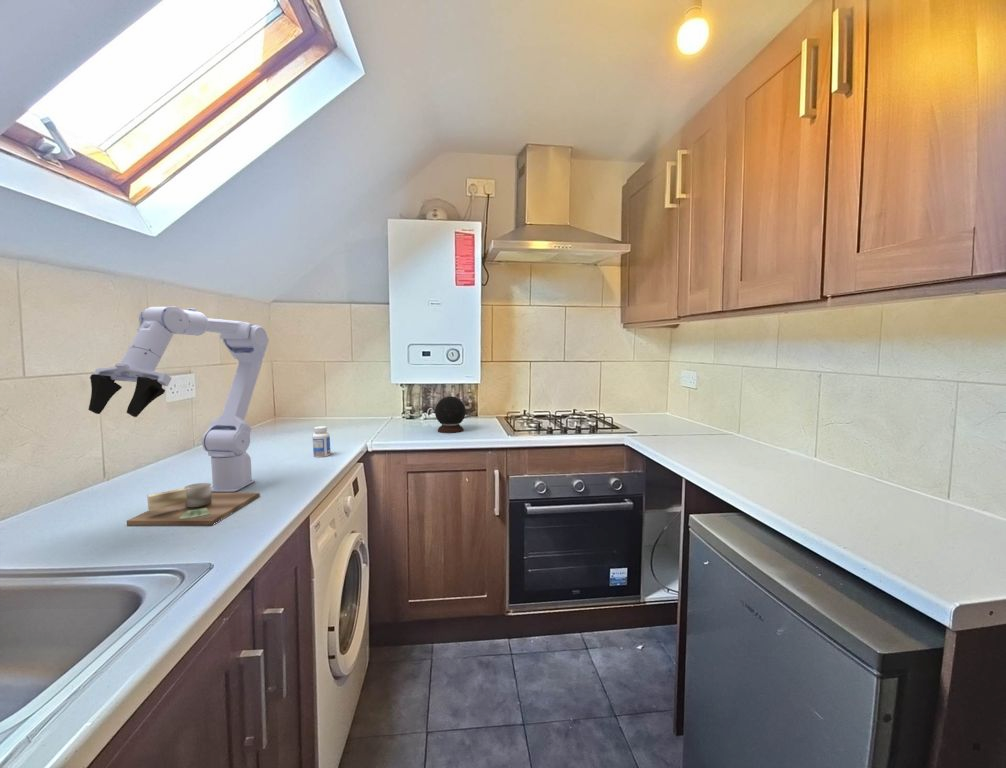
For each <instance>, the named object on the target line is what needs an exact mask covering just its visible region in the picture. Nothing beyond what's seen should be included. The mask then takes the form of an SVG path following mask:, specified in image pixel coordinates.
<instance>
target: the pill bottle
mask: <svg viewBox="0 0 1006 768" xmlns="http://www.w3.org/2000/svg"><path fill="white" fill-rule="evenodd" d="M313 431H314V433H313V434H312V448H313V449H312V450H313V451H312V452H313V457H315V458H324V457H328V456H330V455H331V438H330V437H331V436H330V433H329V432H327V431H328V426H325V425H319V426H315V427H313Z"/></svg>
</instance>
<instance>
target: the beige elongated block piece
mask: <svg viewBox="0 0 1006 768" xmlns="http://www.w3.org/2000/svg"><path fill="white" fill-rule="evenodd" d="M211 487H212V485H211V483H209V482H200V483H199V482H198V483H192V484H188V485H186V486H184V487H182V488H178V489H172V490H168V491H167V490H166V491H163V492H157V493H153V494H149V495H147V496H146V497H147V508H148V509H147V510H148V511H149V510H150V511H152V510H156V509H161V508H165V507H170V506H174V505H179V504H183V503H185V506H186V507H199V506H203V505H207V504H209V503H211V502H212V499H211V493H212V492H211Z"/></svg>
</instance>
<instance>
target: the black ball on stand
mask: <svg viewBox="0 0 1006 768" xmlns="http://www.w3.org/2000/svg"><path fill="white" fill-rule="evenodd" d="M466 410H467V409H466V407H465V404H464V402H463V401H462V400H461V399H460V398H457V396H456V397H455V396H445V397H443V398H441V399H440V400H439V401H438V402H437V404H436V405H435V410H434V415H435V418H436V420H437V421H438V423H439V424H441V425H440V426H438V428H437V433H441V434H457V433H458V434H459V433H462V432H464V430H465V429H464V428H463V426H462V425H460V424H461V423H462V422H463V421H464V419H465V417H466Z"/></svg>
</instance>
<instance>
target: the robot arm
mask: <svg viewBox="0 0 1006 768" xmlns="http://www.w3.org/2000/svg"><path fill="white" fill-rule="evenodd" d="M138 322H139V323H138V324H139V325H138V327H137V329H136V330H137V333H136V335H135V336H134V338H133V339H132V342H130V345H129V346H128V349H127V350H126V352H125V354H124V356H123V358H122V359H121V361H120V362H116V363H115V365H114V366H108V367H97V368H96V369H95V370H94V372H93V373H91V375H90V376H89V379H90V386H91V395H90V401H89V404H88V405H89V406H88V409H87V410H88V411H90V412H91V413H93V414H96V415H99V414H101V413H102V412H103V411H104V409H105V408H106V407H107V404H108V403H109V401H110V400H111V399H112V397H113V396H114V395H116V393H118V392H119V390H121V389H122V387H123V386H121V385H120V384H118V383H117V381H119V382H120V381H121V382H130V383H135V384H136V385H135V389H134V391H133V392H134V393H133V395H132V397H131V400H130V402H129V404H128V406H127V408H126V412H125V413H126V414H127V415H128V414H129V415H130V416H131V417H133V418H137V417H138V416H140V414H141V413H142V412H143V411H144V410H145V409H146V408H147V407H148V406H149V404H151V403H152V402H153V401H155V400H156V399H157V398H159V397H160V396H162V395H164V394H165V392H166V389H165V388H163V386H165V387H168V386H169V384H170V382H171V380H172V377H171V376H170V375H169V374H167V373H166V372H159V371H156V369H157V367H158V366H159V363H160V362H161V359H162V357H163V355H164V353H165V351H166V350H167V348H168V346H169V344H170V342H171V340H172V338H173V337H174V335H183V336H184V335H185V336H201V335H204V334H205V333H206V332H209V333H216V334H219V339H220V340H222V342H223V344H224V346H225V347H226V349H227V350H228V351H229V353H230V354H231V356H232V357H233V358H234V359H236V360H237V362H238V365H237V369H236V371H235V375H234V377H233V380H232V383H231V386H230V389H229V393H228V395H227V399H226V401H225V404H224V407H223V410H222V413H221V416H219V417H218V418H216V419H214V420H213V421H212V422H210V424H209V427H208V429H207V430H206V431H205V432H204V433H203V436H202V439H201V440H202V441H201V444H202V447H203V449H204V451H205V452H207V454H208V456H209V457H210V461H211V477H212V478H211V479H212V485H211V493H236V492H238V491H239V490H241V489H243V488H245V487H247V486H249V485H251V484H253V483H254V482H256V479H254V478H253V477H252V475H253V474H252V460H251V456H250V454H249V453H248V452H247V451H248V449H249V446H250V444H251V432H252V427H251V426H250V425H249V423H248V422H247V421H245V419H246V415H247V412H248V409H249V407H250V404H251V400H252V397H253V393H254V391H255V387H256V384H257V380H258V378H259V374H260V371H261V368H262V365H263V359H264V357H265V354H266V351H267V348H268V345H269V342H270V340H269V337H268V335H267V334H268V333H267V332H266V330H265V328H264V327H263V326H262V325H259V324H256V325H254V323H251V322H245V321H241V320H231V319H220V318H209V317H207V316H206V315H205V313H203V312H200V311H197V308H194V307H193V308H192V307H190V308H189V307H188V308H186V309H182V308H180V306H177V305H173V306H149V307H148V308H146V309H144V311H140V312H139V315H138Z"/></svg>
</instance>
